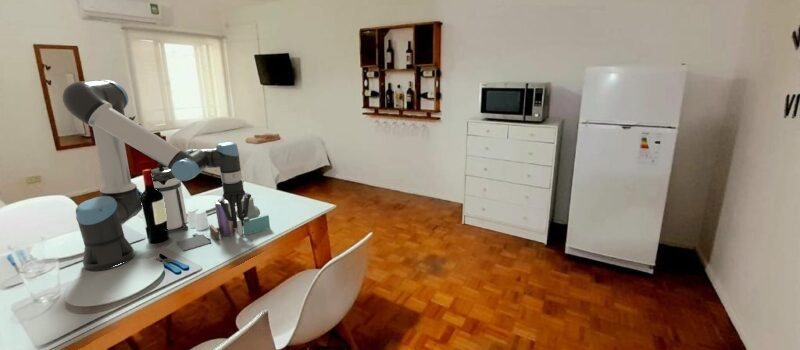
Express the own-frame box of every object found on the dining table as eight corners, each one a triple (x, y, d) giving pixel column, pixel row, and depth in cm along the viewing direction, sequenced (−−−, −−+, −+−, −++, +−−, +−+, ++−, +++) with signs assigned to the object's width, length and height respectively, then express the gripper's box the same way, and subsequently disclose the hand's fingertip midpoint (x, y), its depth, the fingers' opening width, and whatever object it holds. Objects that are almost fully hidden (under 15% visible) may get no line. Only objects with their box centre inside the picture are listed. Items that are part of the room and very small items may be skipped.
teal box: (245, 235, 158) (243, 219, 156) (244, 234, 159) (241, 218, 157) (270, 227, 165) (268, 212, 163) (268, 226, 166) (266, 211, 164)
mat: (183, 251, 145) (183, 250, 145) (177, 242, 152) (176, 241, 152) (210, 243, 151) (210, 242, 151) (203, 235, 158) (203, 234, 158)
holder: (217, 240, 153) (216, 232, 152) (210, 233, 160) (209, 225, 158) (243, 233, 160) (242, 224, 159) (235, 226, 166) (234, 218, 165)
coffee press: (201, 222, 171) (190, 159, 162) (171, 237, 156) (157, 169, 147) (172, 217, 176) (160, 156, 167) (140, 232, 161) (125, 165, 152)
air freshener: (234, 218, 175) (232, 198, 172) (251, 213, 181) (249, 193, 178) (245, 224, 168) (243, 204, 165) (262, 219, 174) (260, 199, 171)
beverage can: (223, 238, 155) (218, 205, 151) (217, 234, 159) (212, 201, 155) (237, 233, 159) (232, 201, 155) (231, 229, 163) (226, 197, 159)
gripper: (218, 186, 142) (226, 241, 149) (251, 179, 150) (258, 232, 157) (212, 182, 147) (220, 235, 154) (244, 175, 156) (251, 226, 163)
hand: (239, 233), depth 156 cm, fingers closed
